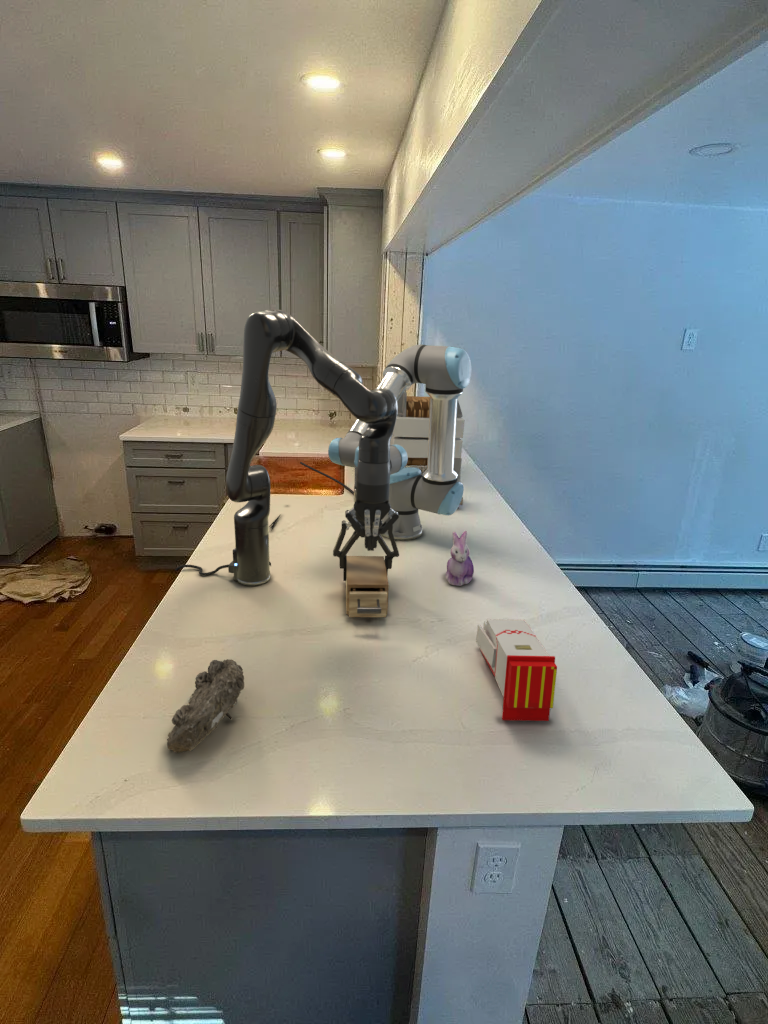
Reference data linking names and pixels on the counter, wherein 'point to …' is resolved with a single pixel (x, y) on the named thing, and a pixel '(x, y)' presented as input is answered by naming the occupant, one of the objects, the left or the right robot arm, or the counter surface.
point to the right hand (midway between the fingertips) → (365, 578)
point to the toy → (519, 668)
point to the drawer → (367, 602)
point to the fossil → (206, 705)
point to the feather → (275, 522)
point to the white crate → (421, 431)
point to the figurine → (459, 562)
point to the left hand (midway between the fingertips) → (370, 549)
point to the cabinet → (365, 574)
